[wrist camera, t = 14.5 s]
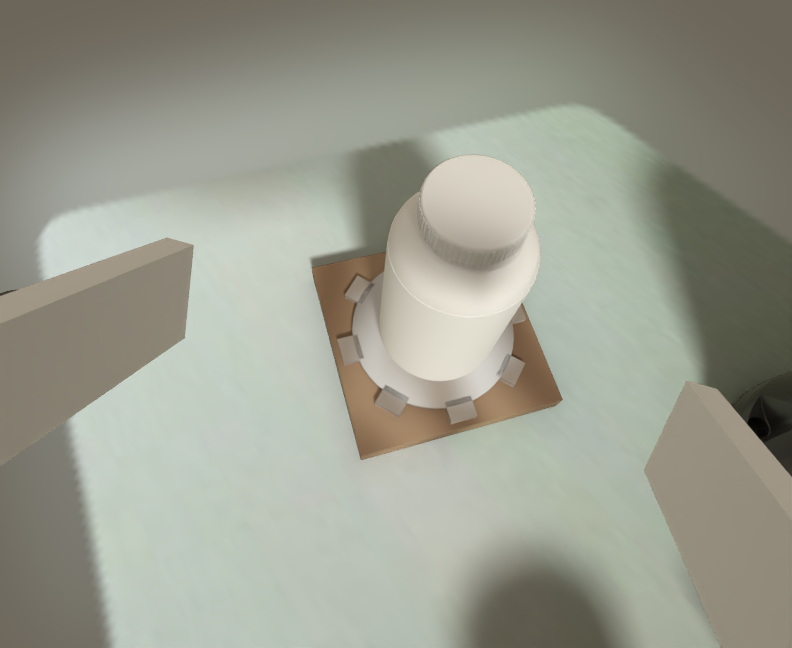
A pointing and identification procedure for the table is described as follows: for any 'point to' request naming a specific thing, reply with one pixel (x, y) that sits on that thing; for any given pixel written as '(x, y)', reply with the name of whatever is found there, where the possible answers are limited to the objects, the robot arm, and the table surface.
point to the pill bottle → (457, 266)
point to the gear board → (412, 396)
